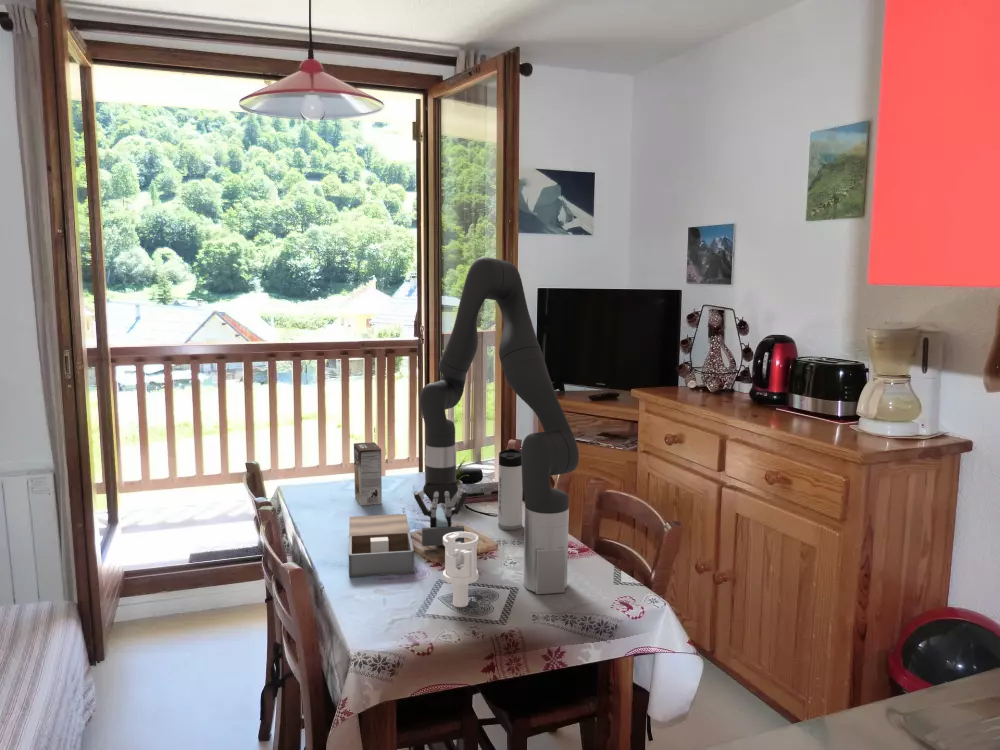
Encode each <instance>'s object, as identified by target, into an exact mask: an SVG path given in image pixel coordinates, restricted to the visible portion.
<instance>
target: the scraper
mask: <svg viewBox="0 0 1000 750" xmlns="http://www.w3.org/2000/svg"><path fill="white" fill-rule="evenodd" d="M445 515H446V514H445V513H444V510H443V508H441V507H437V510H436V527H432V528H431V527H422V528H421V546H422V547H431V546H434V545H437V546H444V545H443V536H444V535H446V534H448V533H451V532H460V531H462V532H465V527H464V525H457V526H456V525H455V526H452V525H451V527H448V522H447V519H446V518H445ZM455 542H461V543H465V538H463V537H460V538H457V539H455ZM434 547H435V546H434Z"/></svg>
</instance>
